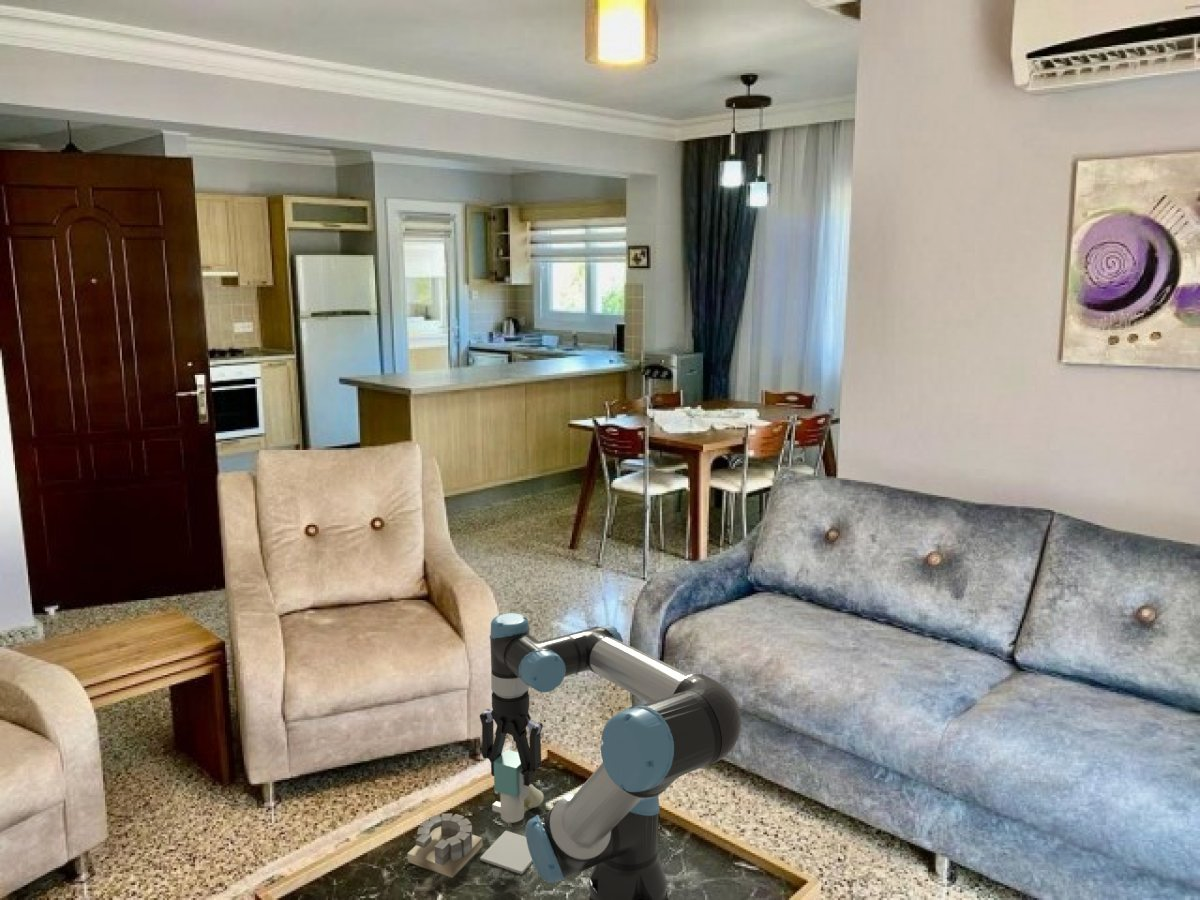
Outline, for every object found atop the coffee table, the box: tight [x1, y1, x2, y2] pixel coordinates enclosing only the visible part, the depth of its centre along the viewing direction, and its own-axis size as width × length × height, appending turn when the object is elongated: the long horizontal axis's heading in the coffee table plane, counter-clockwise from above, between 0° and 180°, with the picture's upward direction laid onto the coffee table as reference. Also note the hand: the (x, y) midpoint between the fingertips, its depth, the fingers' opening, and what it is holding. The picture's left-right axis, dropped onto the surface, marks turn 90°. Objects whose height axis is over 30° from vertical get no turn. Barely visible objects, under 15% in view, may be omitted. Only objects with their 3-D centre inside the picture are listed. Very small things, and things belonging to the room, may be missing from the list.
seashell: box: [524, 783, 545, 814], centre depth 205 cm, size 8×8×8 cm
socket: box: [406, 813, 483, 879], centre depth 189 cm, size 11×11×6 cm
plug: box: [491, 749, 525, 824], centre depth 188 cm, size 7×5×13 cm
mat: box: [479, 830, 533, 875], centre depth 190 cm, size 10×10×1 cm
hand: (512, 793), depth 187 cm, fingers closed on plug, 5 cm apart
